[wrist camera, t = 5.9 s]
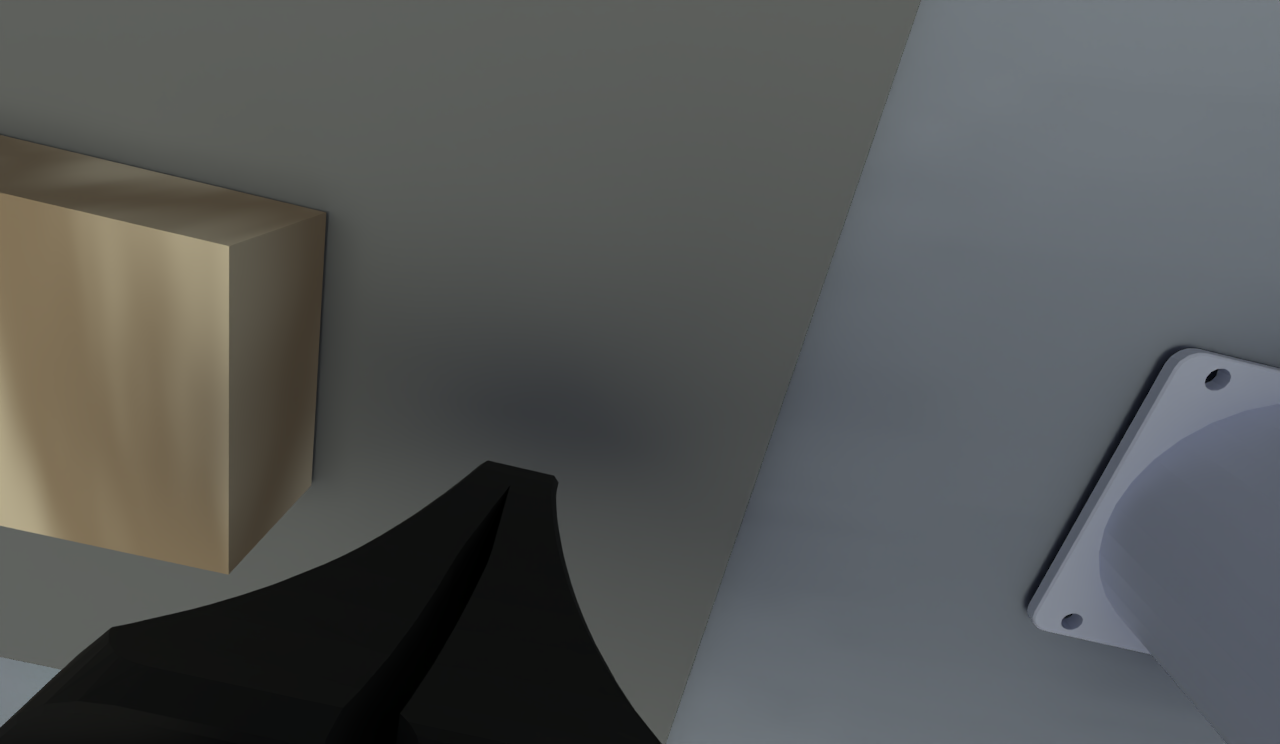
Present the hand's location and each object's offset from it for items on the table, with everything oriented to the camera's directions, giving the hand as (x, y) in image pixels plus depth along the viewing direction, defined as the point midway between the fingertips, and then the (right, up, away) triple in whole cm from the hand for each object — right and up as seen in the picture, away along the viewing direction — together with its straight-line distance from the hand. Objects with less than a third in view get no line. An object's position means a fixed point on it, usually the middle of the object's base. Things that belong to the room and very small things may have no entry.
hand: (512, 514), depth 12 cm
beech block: (-5, +2, +2) cm, 6 cm away
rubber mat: (-5, +3, +4) cm, 8 cm away
